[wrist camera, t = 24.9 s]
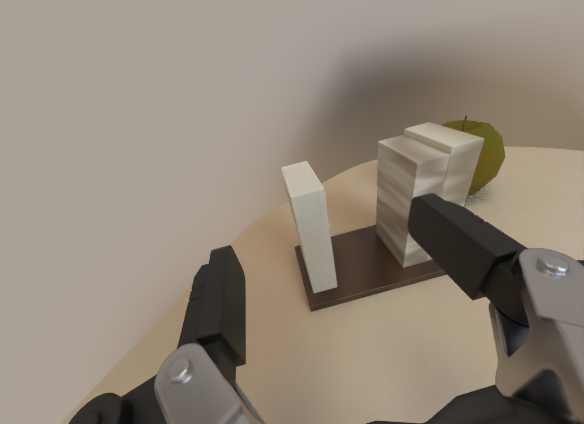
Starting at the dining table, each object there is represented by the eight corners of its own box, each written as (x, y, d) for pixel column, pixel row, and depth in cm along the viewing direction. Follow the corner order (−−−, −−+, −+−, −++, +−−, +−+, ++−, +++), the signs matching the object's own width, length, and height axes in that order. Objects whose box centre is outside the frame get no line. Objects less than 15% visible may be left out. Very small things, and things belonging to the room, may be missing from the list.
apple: (405, 178, 38) (412, 112, 32) (470, 172, 36) (491, 100, 30) (421, 211, 31) (434, 133, 24) (505, 208, 28) (544, 119, 22)
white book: (313, 293, 23) (290, 197, 16) (302, 253, 28) (280, 167, 21) (337, 287, 23) (324, 188, 16) (321, 248, 28) (306, 160, 21)
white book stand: (311, 311, 22) (281, 202, 14) (295, 250, 29) (270, 157, 22) (468, 268, 22) (518, 140, 15) (413, 218, 30) (429, 116, 22)
